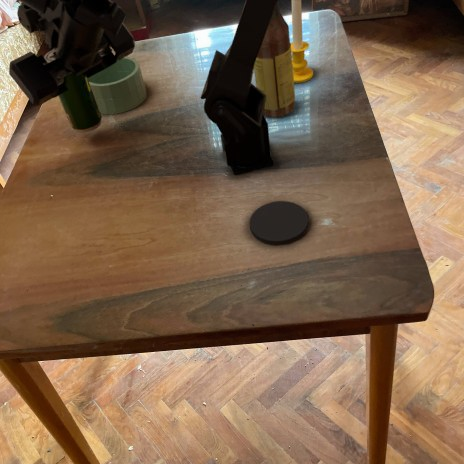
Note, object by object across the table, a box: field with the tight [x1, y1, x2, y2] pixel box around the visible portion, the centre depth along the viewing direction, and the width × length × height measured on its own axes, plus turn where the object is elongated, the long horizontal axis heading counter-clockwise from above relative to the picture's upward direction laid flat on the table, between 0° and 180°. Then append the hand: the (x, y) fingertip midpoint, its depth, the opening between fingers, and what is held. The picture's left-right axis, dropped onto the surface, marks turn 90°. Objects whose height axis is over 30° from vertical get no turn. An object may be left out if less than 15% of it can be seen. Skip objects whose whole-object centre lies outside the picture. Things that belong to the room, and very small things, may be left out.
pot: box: [88, 56, 148, 115], centre depth 96 cm, size 11×11×6 cm
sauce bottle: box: [253, 1, 296, 118], centre depth 81 cm, size 7×6×20 cm
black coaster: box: [249, 200, 310, 246], centre depth 71 cm, size 8×8×1 cm
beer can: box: [43, 48, 103, 134], centre depth 84 cm, size 5×5×12 cm
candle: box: [290, 0, 314, 84], centre depth 89 cm, size 5×5×16 cm
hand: (68, 85), depth 84 cm, fingers closed on beer can, 5 cm apart
